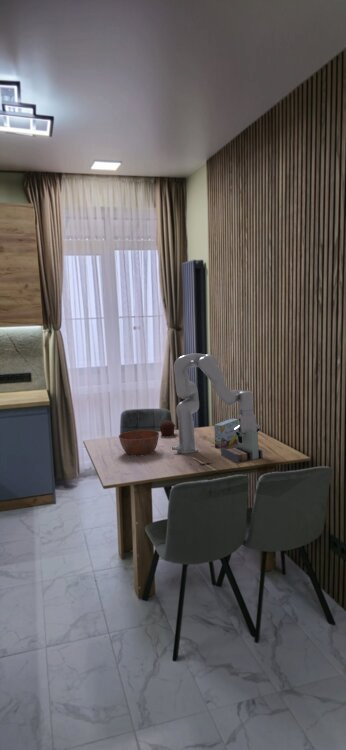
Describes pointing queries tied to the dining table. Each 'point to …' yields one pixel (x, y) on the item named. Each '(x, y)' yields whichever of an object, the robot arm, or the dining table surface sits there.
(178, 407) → the robot arm
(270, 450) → the dining table surface
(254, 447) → the tall sheet
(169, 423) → the muffin
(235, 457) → the offcut rack
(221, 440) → the snack box
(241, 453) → the upper offcut
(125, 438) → the bowl
